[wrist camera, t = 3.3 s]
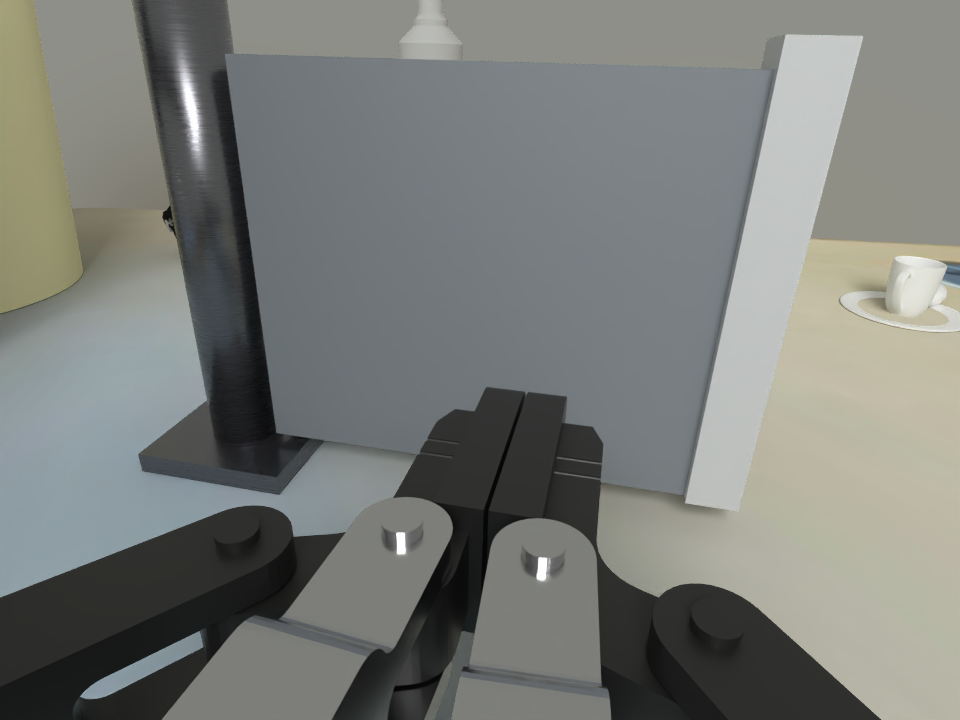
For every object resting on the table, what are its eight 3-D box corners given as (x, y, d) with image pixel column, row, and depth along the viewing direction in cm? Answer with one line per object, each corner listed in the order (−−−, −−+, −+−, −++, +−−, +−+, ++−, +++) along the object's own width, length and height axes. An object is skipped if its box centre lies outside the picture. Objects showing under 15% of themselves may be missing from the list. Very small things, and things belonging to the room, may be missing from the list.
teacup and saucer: (902, 293, 49) (919, 243, 47) (1004, 331, 42) (1028, 274, 40) (813, 301, 47) (828, 249, 45) (906, 343, 40) (927, 283, 38)
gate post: (142, 470, 25) (-36, -224, 16) (228, 400, 30) (134, -149, 21) (279, 494, 24) (174, -238, 14) (343, 416, 29) (297, -156, 20)
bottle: (455, 257, 53) (458, -95, 42) (396, 253, 54) (385, -95, 43) (465, 242, 58) (470, -79, 47) (411, 239, 58) (404, -80, 48)
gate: (270, 438, 25) (211, 23, 18) (299, 409, 27) (254, 28, 21) (738, 511, 22) (863, 35, 15) (728, 471, 24) (834, 40, 17)
